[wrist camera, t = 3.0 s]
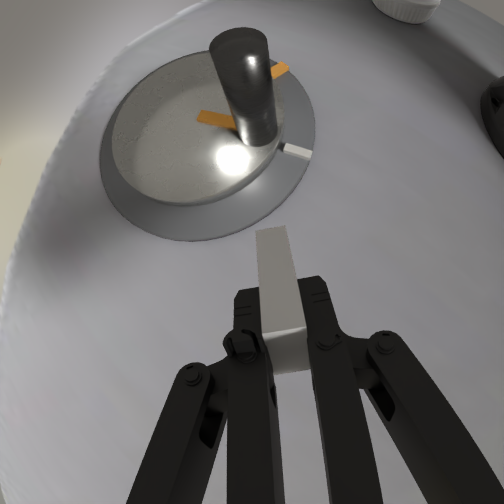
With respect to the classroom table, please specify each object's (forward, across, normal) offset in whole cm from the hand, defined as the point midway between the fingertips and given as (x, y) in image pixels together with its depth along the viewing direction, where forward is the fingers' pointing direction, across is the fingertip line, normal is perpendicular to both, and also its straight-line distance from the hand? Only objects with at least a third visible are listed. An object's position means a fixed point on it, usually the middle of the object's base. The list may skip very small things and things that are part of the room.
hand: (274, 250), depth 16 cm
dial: (+19, +6, -4) cm, 20 cm away
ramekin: (+34, -27, -17) cm, 46 cm away
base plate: (+20, +6, -3) cm, 21 cm away
